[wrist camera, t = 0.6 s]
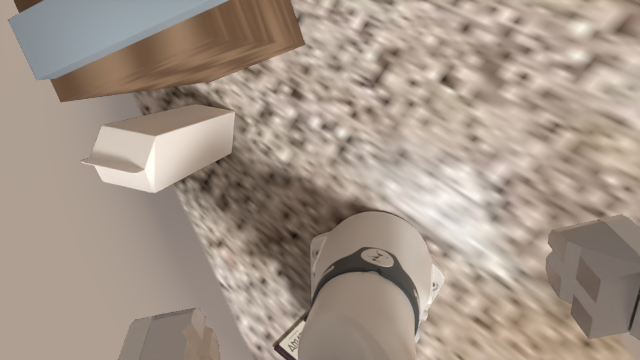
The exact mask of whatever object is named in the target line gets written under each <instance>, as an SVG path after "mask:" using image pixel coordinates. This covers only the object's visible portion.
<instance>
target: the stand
mask: <svg viewBox="0 0 640 360" xmlns="http://www.w3.org/2000/svg"><path fill="white" fill-rule="evenodd" d="M42 1H44V0H14V2H15V4H16V7H17V9H18V11H19V13H21V12H23V11H25V10H27V9H29V8H30V7H32V6H34V5H36V4H38V3H40V2H42ZM303 45H305V42H304V39H303V37H302V34H301V31H300V28H299V25H298V22H297V19H296V16H295V13H294V10H293V7H292V4H291V1H290V0H229V1H226V2H224V3H222V4H220V5H217V6H215V7H213V8H211V9H209V10H206V11H204V12H202V13H200V14H198V15H195V16H193V17H191V18H189V19H186V20H184V21H182V22H180V23H178V24H175V25H173V26H171V27H169V28H167V29H164V30H162V31H160V32H158V33H155V34H153V35H151V36H149V37H147V38H144V39H142V40H140V41H138V42H136V43H133V44H131V45H129V46H127V47H125V48H122V49H120V50H118V51H116V52H113V53H111V54H109V55H107V56H105V57H102V58H100V59H98V60H96V61H94V62H91V63H89V64H87V65H85V66H82V67H80V68H78V69H76V70H74V71H71V72H69V73H67V74H65V75H63V76H60V77H58V78H56V79H50V80H51V82H52V84H53V86H54V89H55V91H56V93H57V95H58V97H59V99H60V101H61V102H65V101H73V100H80V99H87V98H95V97H102V96H109V95H116V94H123V93H131V92H138V91H145V90H153V89H160V88H167V87H174V86H182V85H189V84H196V83H203V82H211V81H214V80H216V79H219V78H221V77H224V76H226V75H229V74H231V73H234V72H237V71H239V70H242V69H244V68H247V67H249V66H252V65H254V64H257V63H259V62H262V61H265V60H267V59H270V58H272V57H275V56H277V55H280V54H282V53H285V52H288V51H290V50H293V49H295V48H298V47H300V46H303Z"/></svg>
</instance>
